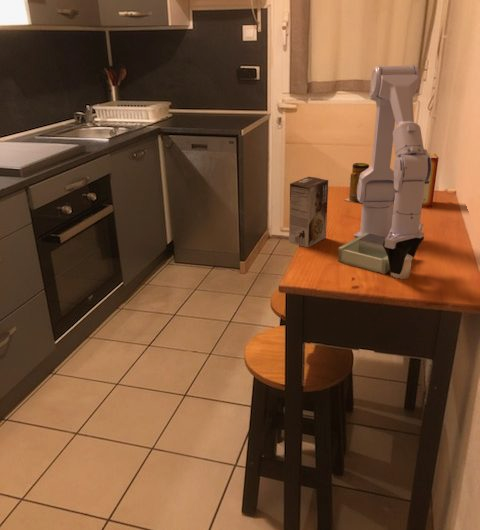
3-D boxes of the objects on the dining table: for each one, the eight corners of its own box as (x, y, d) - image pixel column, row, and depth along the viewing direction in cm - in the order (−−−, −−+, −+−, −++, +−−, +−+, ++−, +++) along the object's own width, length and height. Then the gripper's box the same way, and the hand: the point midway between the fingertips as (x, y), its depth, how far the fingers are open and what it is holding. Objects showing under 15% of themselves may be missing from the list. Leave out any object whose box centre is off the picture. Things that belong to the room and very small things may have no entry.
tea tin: (367, 252, 126) (369, 233, 124) (396, 259, 121) (398, 240, 119) (357, 258, 122) (359, 238, 120) (386, 266, 118) (388, 245, 116)
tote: (364, 245, 131) (365, 232, 130) (410, 257, 124) (411, 243, 122) (337, 261, 122) (338, 247, 120) (384, 274, 114) (386, 260, 113)
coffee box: (306, 233, 141) (308, 176, 134) (326, 238, 137) (329, 179, 131) (287, 242, 134) (288, 182, 128) (308, 248, 131) (310, 186, 124)
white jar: (394, 269, 117) (396, 251, 115) (413, 274, 114) (416, 256, 113) (385, 275, 114) (387, 257, 112) (405, 281, 111) (407, 262, 109)
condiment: (354, 195, 175) (357, 161, 170) (377, 200, 170) (380, 164, 165) (343, 200, 170) (345, 164, 165) (366, 204, 165) (369, 168, 160)
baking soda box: (428, 201, 167) (435, 152, 161) (431, 207, 161) (438, 156, 155) (399, 200, 169) (404, 152, 163) (400, 206, 163) (406, 156, 157)
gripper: (410, 223, 101) (403, 284, 106) (439, 206, 111) (431, 263, 116) (377, 216, 105) (372, 276, 110) (408, 200, 115) (401, 256, 120)
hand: (400, 269), depth 114 cm, fingers closed on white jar, 4 cm apart
